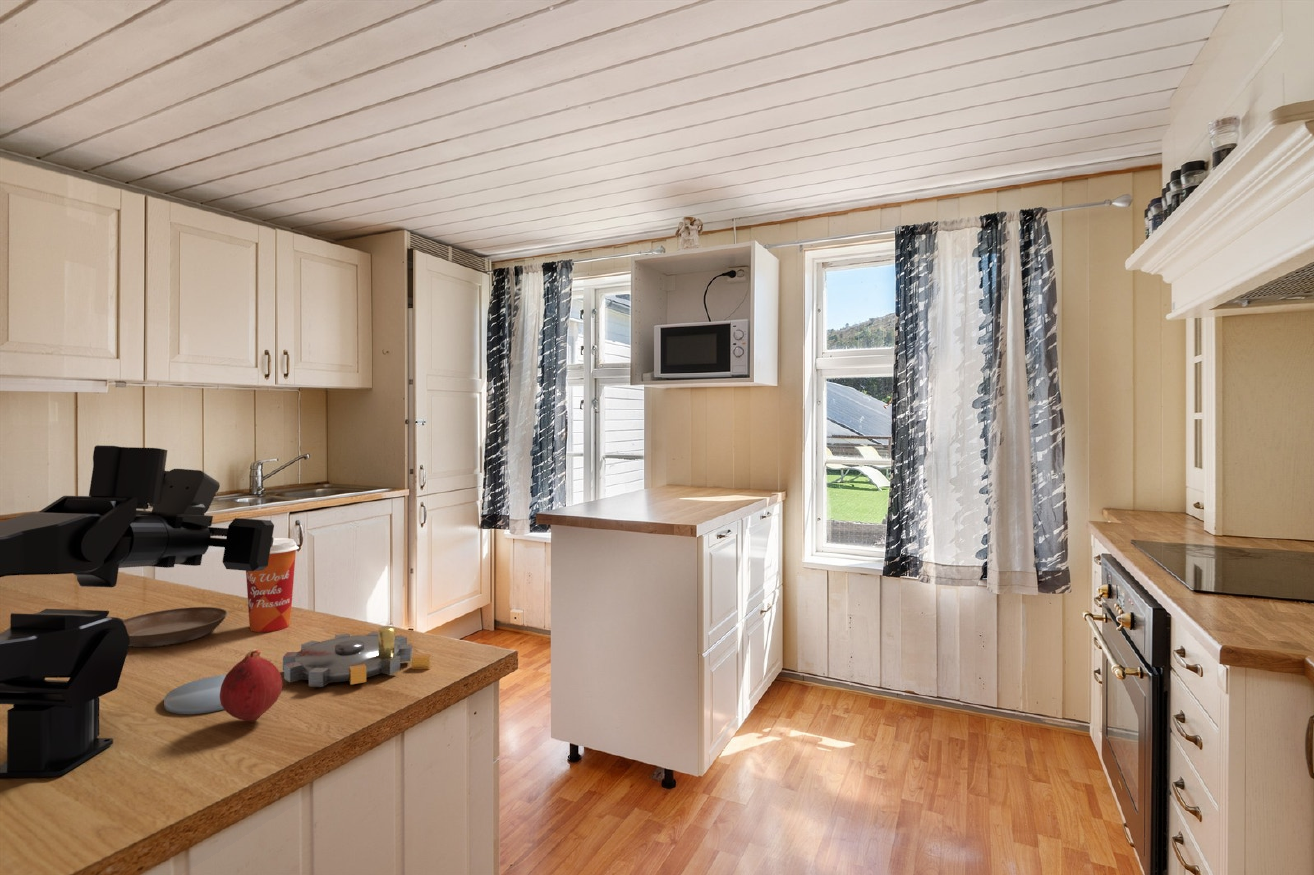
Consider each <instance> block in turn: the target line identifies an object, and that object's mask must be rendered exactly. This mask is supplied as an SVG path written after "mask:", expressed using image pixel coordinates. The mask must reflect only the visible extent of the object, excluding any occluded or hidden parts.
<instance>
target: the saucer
mask: <svg viewBox="0 0 1314 875" xmlns="http://www.w3.org/2000/svg"><path fill="white" fill-rule="evenodd" d="M228 614H229V612H228V611H227V610H226V609H225V608H222V607H221V608H220V607H211V606H193V607H192V606H191V607H181V608H171V609H170V608H169V609H166V610H158V611H153V612H148V613H143V614H139V615H136V616H132V617H129V618H126V619H122V620H123V622H124V625H125V626H126V629H127V633H128V635H129V638H130V644H129V647H132V646H133V648H134V647H135V648H153V647H154V648H155V646H156V647H163V645H165V646H170V645H169V644H172V645H177V643H178V644H181V642H183V643H185V641H187V642H190V641H189V640H191V641H193V640H192V639H194V640H196V639H199V637H200V638H203V637H204V635H205V636H207V635H208V634H210V633H211V632H213V631H214V630H215V629H217V628H218V626H220V624H221V623H222V622H223V621H224V620H225V619H226V617H227V616H228ZM202 636H203V637H202Z"/></svg>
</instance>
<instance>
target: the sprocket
mask: <svg viewBox="0 0 1314 875" xmlns="http://www.w3.org/2000/svg"><path fill="white" fill-rule="evenodd" d="M395 631H396V627H395V626H390V625H389V626H388V625H387V626H383V627H380V628H378V631H371V632H369V633H368V634H360V635H359V634H358V635H350V633H349V632H347V633H341V634H335V635H334V638H331V639H326V640H321V641H318V640H309V641H308V642H304V643H302V644H301V646H300V648H301V649H300V650H299V651H288V652H287V651H286V653H285V654H283V656H282V671H283V672H284V673H283V679H284V680H285V681H287V682H289V683H292V682H296V681H300V680H304V681H308V687H313V688H314V687H315V688H316V687H317V688H323V687H325V686H327V685H328V684H330V683H338V682H339V683H340V682H342V683H343V682H349V684H350V685H351V686H352V685H355V684H356V685H357V684H362V683H367V678H369V677H373V676H376V675H379V674H385V675H392V674H394V673H397V672H398V671H401V663H405V662H412V657H413V644H412V643H408V637H407V636H404V635H402V634H399V635H395V634H396V632H395Z"/></svg>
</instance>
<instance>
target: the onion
mask: <svg viewBox="0 0 1314 875" xmlns="http://www.w3.org/2000/svg"><path fill="white" fill-rule="evenodd" d="M260 655H261V650H259V649H258V648H252V649H251V650H250V651H248V652H247V654H246V655H245V657H244V658H243V659H242V660H240V661H238V662H237V663H236V664H235V665H234V666H232V668H231V669H230V670H229V671H228V672H227V673H226V674H227V675H226V674H225V675H226V677H225V678H224V680H223V683H222V685H221V690H220V702H221V705H222V707H223V708H224V710H223V711H225V712H226V713H227V714H229V715H230V716H232V717H233V718H235V719H238V720H241V721H243V722H246V723H254V722H256V721H257V720H259V719H260V717H262V716H263V715H264V714H265V713H266V712H268V711H269V710H270V709H271V707H272V706H273V705H275V703H276V702H277V701H278V699H279V697H280V696H281V694H282V689H283V678H282V675H281V673H280V670H279V669H278V668H277V666H276V665H275V664H274V663H273V662H272V661H269V660H268V659H266V658H264V657H261V656H260Z"/></svg>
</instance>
